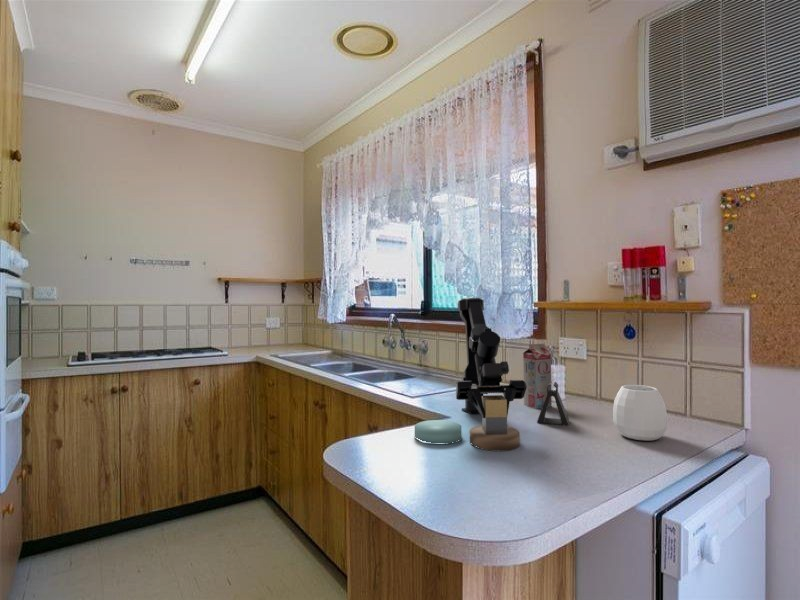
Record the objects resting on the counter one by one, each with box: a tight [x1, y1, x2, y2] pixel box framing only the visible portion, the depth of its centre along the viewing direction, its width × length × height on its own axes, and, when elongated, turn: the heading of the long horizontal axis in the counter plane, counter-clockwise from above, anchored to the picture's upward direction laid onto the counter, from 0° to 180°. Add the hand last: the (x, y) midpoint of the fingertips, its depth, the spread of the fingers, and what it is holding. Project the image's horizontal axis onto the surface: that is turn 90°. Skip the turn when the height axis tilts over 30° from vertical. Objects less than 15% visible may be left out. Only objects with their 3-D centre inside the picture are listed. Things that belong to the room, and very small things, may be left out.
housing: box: [481, 394, 508, 435], centre depth 120 cm, size 6×6×9 cm
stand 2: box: [469, 424, 521, 452], centre depth 120 cm, size 13×13×3 cm
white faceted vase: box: [612, 384, 668, 441], centre depth 123 cm, size 13×13×14 cm
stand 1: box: [414, 419, 463, 444], centre depth 125 cm, size 13×13×3 cm
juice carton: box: [522, 342, 553, 410], centre depth 159 cm, size 7×7×22 cm
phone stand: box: [536, 380, 570, 427], centre depth 139 cm, size 9×6×12 cm, turn 68°
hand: (495, 417), depth 118 cm, fingers closed on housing, 5 cm apart
